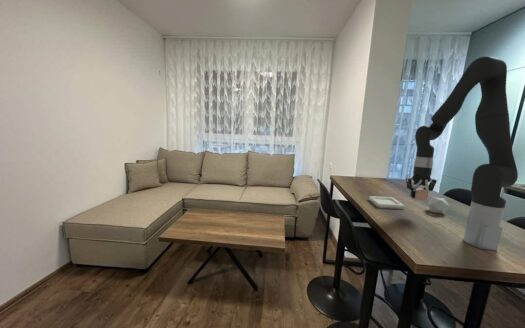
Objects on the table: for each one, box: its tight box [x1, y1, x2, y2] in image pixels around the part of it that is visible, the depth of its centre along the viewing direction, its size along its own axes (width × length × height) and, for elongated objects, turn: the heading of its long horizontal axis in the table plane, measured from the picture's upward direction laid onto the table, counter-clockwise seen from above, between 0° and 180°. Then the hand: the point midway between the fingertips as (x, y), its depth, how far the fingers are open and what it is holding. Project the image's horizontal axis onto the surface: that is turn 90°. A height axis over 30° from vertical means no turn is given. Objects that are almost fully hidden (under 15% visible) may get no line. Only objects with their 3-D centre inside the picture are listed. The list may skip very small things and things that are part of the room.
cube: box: [410, 187, 429, 202], centre depth 113 cm, size 5×5×5 cm
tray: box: [368, 195, 405, 210], centre depth 132 cm, size 14×14×2 cm
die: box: [426, 196, 450, 215], centre depth 121 cm, size 8×9×10 cm
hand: (418, 197), depth 113 cm, fingers closed on cube, 5 cm apart
